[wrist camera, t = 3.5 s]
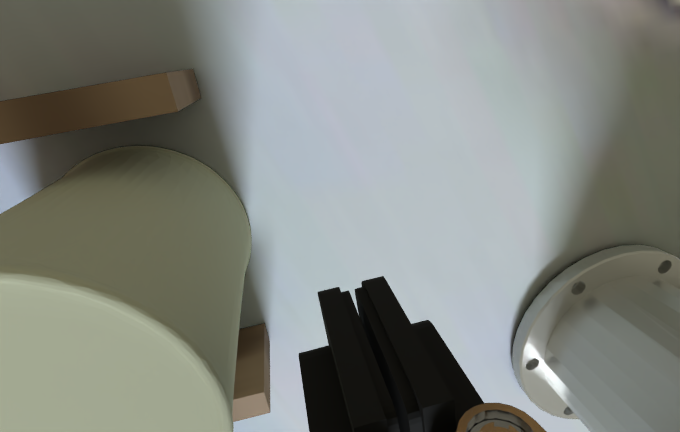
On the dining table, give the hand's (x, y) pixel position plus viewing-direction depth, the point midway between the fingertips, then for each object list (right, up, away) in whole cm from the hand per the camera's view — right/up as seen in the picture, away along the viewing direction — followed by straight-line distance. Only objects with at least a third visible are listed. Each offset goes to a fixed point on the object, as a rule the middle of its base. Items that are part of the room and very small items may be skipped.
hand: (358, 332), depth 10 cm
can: (-9, +2, +10) cm, 14 cm away
